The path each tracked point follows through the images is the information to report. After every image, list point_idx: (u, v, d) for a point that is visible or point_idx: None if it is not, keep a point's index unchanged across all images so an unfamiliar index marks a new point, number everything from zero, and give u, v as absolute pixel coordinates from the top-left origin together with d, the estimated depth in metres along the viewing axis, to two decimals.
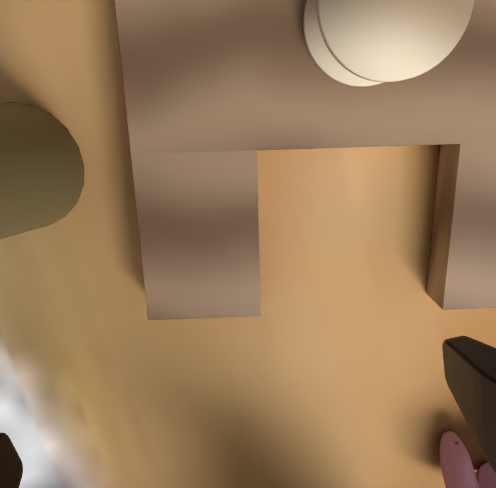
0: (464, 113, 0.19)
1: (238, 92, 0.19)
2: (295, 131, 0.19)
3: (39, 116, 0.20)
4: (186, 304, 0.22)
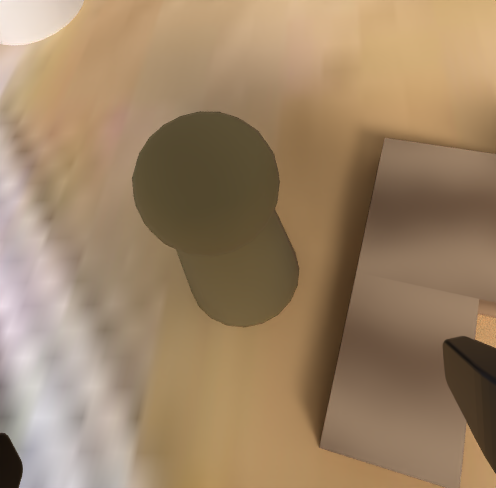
0: None
1: (468, 247, 0.21)
2: None
3: None
4: (369, 443, 0.18)
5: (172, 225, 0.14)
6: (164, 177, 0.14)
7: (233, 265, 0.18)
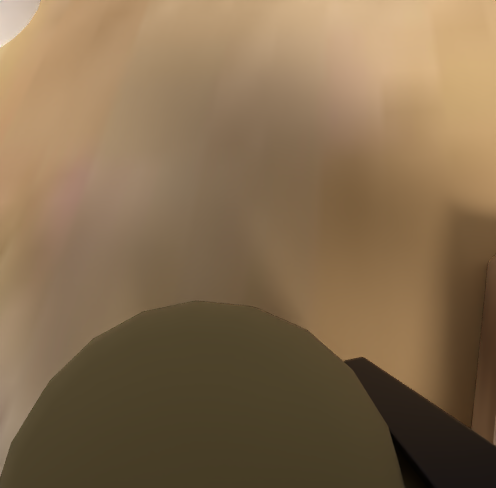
0: None
1: None
2: None
3: None
4: None
5: None
6: None
7: None
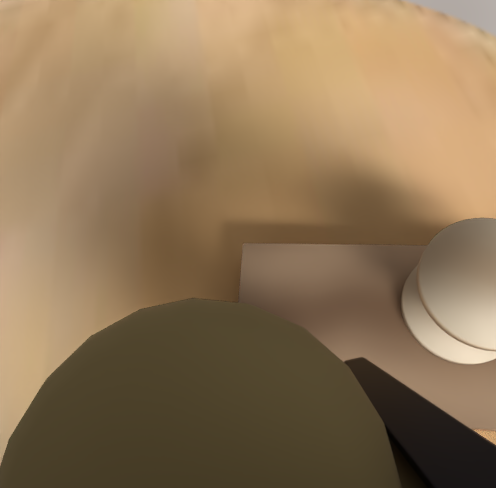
0: None
1: None
2: None
3: None
4: None
5: None
6: None
7: None
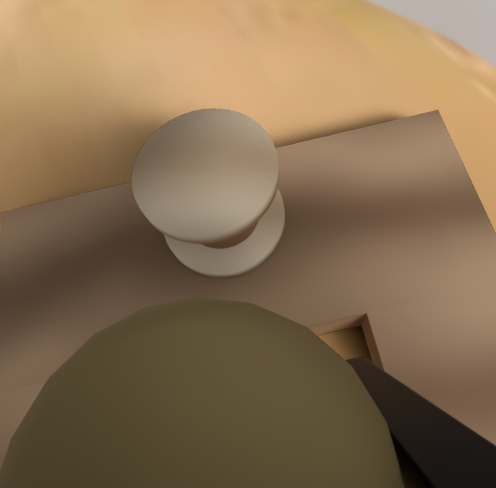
0: (357, 280, 0.17)
1: (108, 306, 0.18)
2: None
3: None
4: None
5: None
6: None
7: None
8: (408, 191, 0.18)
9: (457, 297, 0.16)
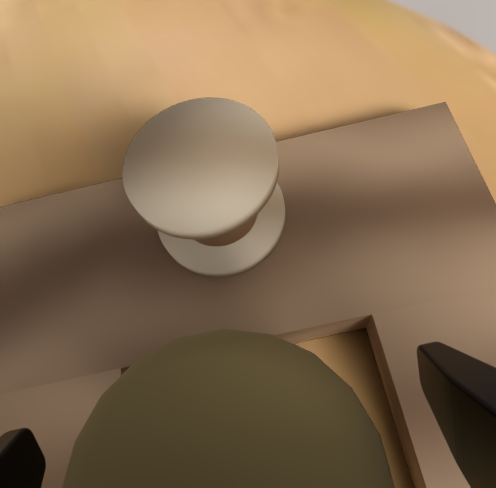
0: (362, 279, 0.16)
1: (99, 307, 0.17)
2: (165, 337, 0.16)
3: None
4: None
5: None
6: None
7: None
8: (415, 186, 0.17)
9: (468, 297, 0.15)
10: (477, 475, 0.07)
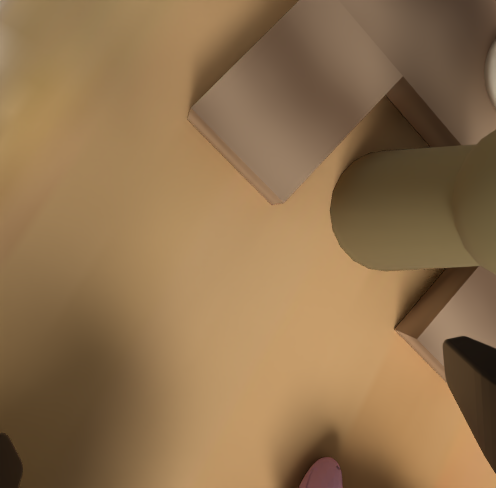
0: None
1: (427, 28, 0.20)
2: (437, 93, 0.20)
3: None
4: (237, 129, 0.19)
5: None
6: None
7: (444, 251, 0.16)
8: None
9: None
10: None
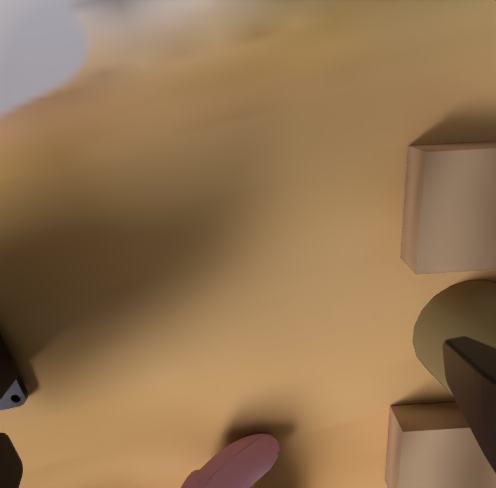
0: None
1: None
2: None
3: None
4: (440, 196, 0.19)
5: None
6: None
7: None
8: None
9: None
10: None
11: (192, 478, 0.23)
